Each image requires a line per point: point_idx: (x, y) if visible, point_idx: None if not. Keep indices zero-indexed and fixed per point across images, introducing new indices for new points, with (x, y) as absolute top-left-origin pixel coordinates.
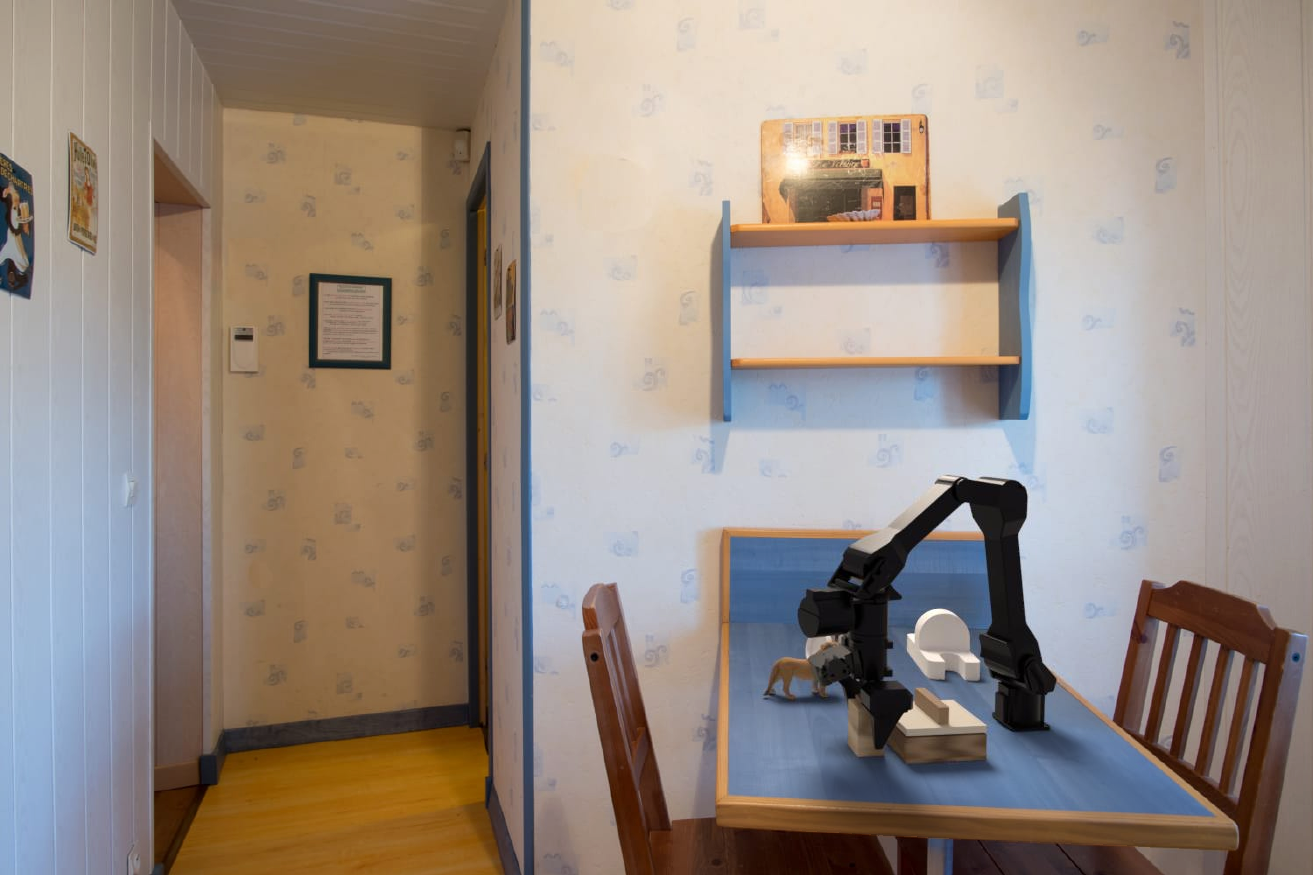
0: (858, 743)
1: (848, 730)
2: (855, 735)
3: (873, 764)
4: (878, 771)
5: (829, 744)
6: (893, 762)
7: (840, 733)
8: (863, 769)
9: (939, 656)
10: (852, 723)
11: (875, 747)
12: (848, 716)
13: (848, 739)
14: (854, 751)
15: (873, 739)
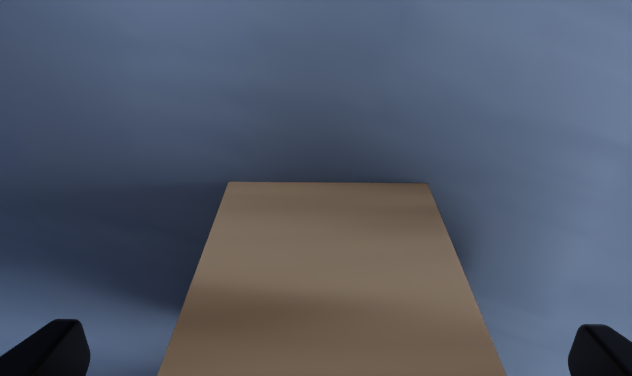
0: (210, 241)
1: (441, 250)
2: (262, 266)
3: (111, 235)
4: (11, 229)
5: (470, 48)
6: (149, 339)
7: (628, 199)
8: (23, 150)
9: None
10: (349, 328)
11: (44, 327)
12: (486, 353)
13: (422, 207)
14: (290, 187)
15: (14, 369)
